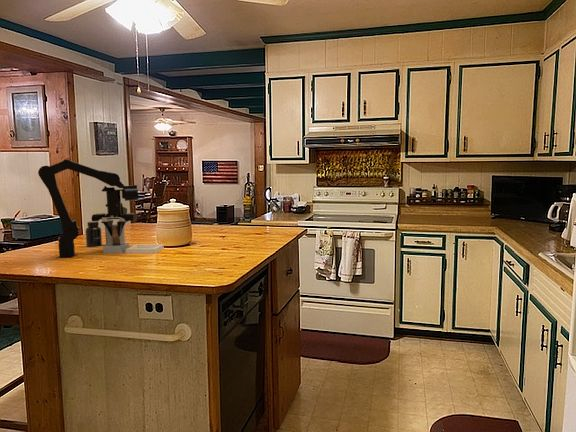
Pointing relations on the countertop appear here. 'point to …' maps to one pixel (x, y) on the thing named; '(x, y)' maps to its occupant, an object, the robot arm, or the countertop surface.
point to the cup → (110, 239)
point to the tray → (145, 248)
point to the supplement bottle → (93, 234)
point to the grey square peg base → (115, 248)
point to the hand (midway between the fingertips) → (116, 236)
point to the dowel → (115, 236)
